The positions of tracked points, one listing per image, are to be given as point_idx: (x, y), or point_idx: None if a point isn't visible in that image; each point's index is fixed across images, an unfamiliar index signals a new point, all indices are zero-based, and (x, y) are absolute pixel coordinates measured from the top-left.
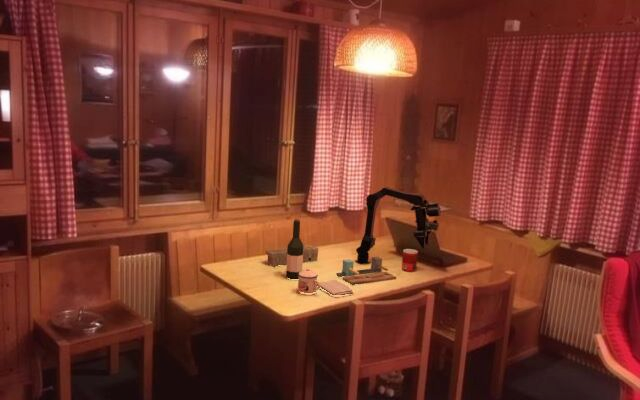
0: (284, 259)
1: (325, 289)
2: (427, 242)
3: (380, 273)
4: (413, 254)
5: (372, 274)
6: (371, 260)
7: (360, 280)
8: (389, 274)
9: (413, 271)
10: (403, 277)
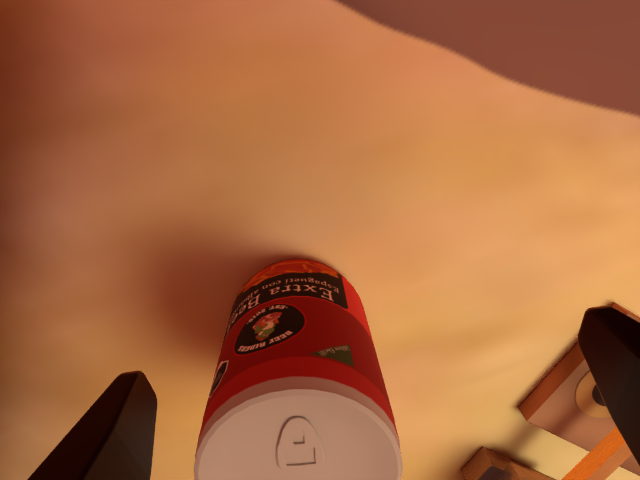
0: None
1: None
2: (129, 424)
3: (595, 432)
4: (374, 396)
5: None
6: None
7: None
8: (592, 376)
9: (329, 267)
10: (532, 274)
